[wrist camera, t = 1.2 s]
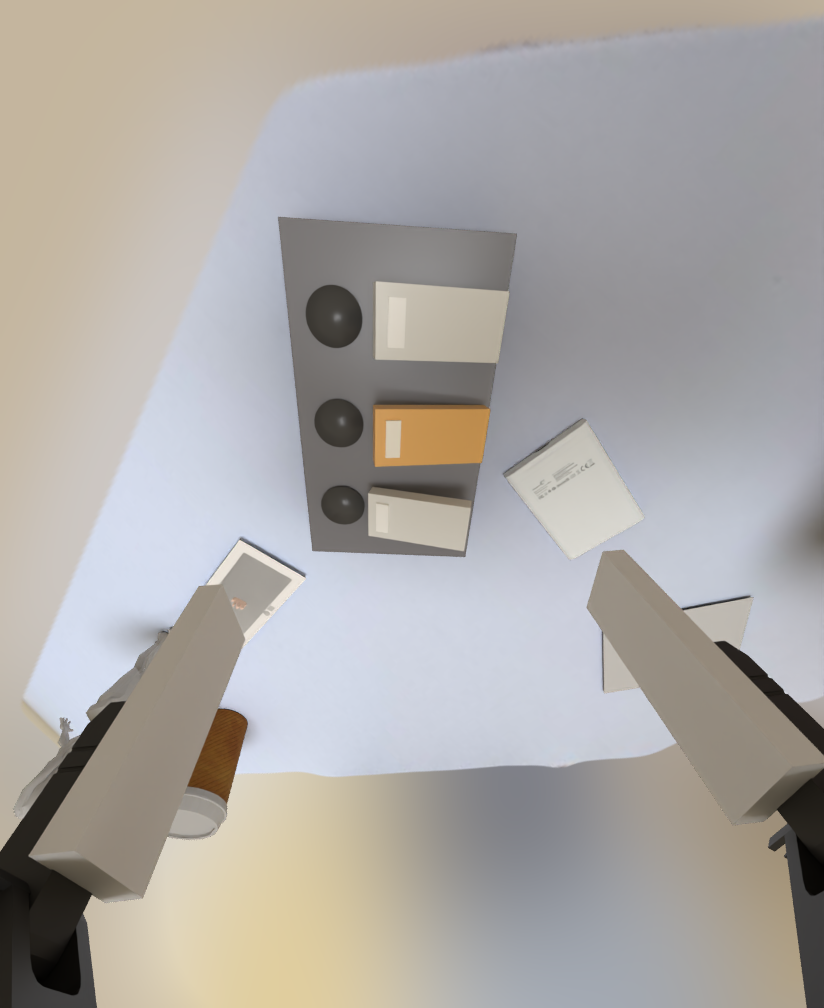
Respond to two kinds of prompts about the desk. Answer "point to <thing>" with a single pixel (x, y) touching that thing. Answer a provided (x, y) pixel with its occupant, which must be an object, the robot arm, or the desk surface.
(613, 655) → the paper stack
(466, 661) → the desk surface
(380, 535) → the block
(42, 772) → the human figurine
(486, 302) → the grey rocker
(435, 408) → the orange labeled box
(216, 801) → the disposable coffee cup
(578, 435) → the external hard drive
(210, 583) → the white picture frame
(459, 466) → the rocker switch box
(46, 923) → the robot arm
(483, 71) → the desk surface
